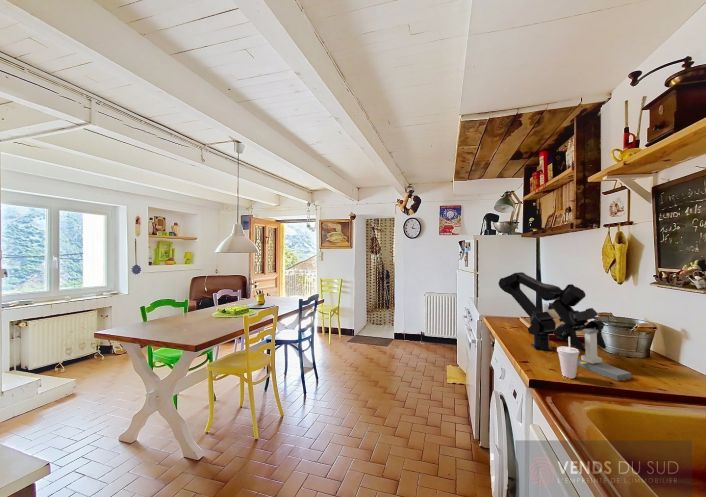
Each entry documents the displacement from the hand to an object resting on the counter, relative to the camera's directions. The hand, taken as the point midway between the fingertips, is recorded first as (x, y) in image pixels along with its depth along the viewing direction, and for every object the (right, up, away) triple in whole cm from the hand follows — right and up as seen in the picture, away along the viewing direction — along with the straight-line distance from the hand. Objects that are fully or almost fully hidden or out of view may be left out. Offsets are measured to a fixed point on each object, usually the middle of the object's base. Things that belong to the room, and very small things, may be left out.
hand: (594, 349), depth 110 cm
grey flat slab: (+1, -7, -2) cm, 8 cm away
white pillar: (0, -5, +1) cm, 5 cm away
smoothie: (-13, -8, -5) cm, 16 cm away
